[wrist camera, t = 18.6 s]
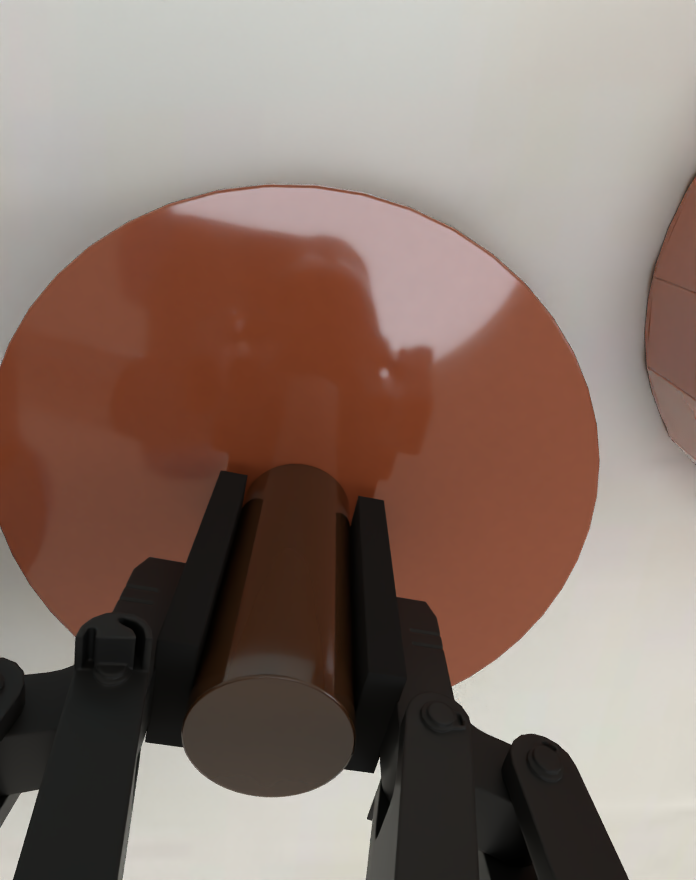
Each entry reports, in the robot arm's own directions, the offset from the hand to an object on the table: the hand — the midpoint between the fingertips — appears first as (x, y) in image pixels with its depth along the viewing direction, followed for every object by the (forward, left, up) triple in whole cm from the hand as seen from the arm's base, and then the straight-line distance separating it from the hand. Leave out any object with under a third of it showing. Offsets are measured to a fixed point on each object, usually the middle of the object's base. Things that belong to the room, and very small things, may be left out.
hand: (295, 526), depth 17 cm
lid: (0, 0, -1) cm, 1 cm away
